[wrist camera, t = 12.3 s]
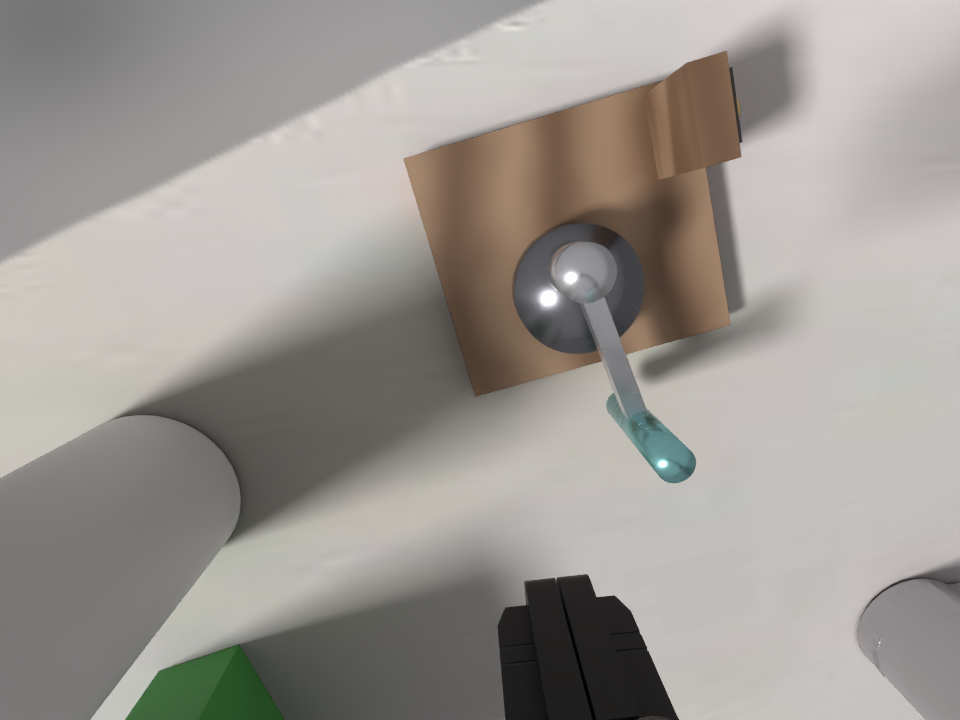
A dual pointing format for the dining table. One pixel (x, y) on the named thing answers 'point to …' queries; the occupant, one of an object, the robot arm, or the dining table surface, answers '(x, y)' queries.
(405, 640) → the dining table surface
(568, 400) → the dining table surface
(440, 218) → the stand
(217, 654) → the hardback book
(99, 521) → the cylinder vase
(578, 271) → the lever
